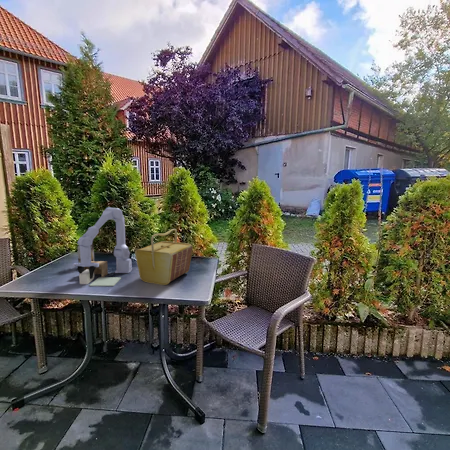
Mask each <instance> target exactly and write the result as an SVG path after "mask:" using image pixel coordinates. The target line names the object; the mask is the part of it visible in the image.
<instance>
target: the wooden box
mask: <svg viewBox="0 0 450 450" xmlns="http://www.w3.org/2000/svg"><path fill="white" fill-rule="evenodd" d="M91 263H99V267H96V268H95V270H94V275H101V277H107V275H108V274H109V272H108V270H109V268H108V267H109V266H108V261H107V260H105V261H103V260H100V261H99V260H97V261H95V260H94V261H91ZM89 268H90V267H84V271H85V270H86V269H89Z"/></svg>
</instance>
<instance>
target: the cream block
mask: <svg viewBox="0 0 450 450" xmlns="http://www.w3.org/2000/svg"><path fill="white" fill-rule="evenodd" d="M78 274H79V275H78V277H79V285H89V283H90V284H91V283H92V282H93V280H94V279H95V274H94V273H93V278H92V279H90V273H89V269H86V270H85V271H83V272H82V273H81V274H80V273H78Z"/></svg>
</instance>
